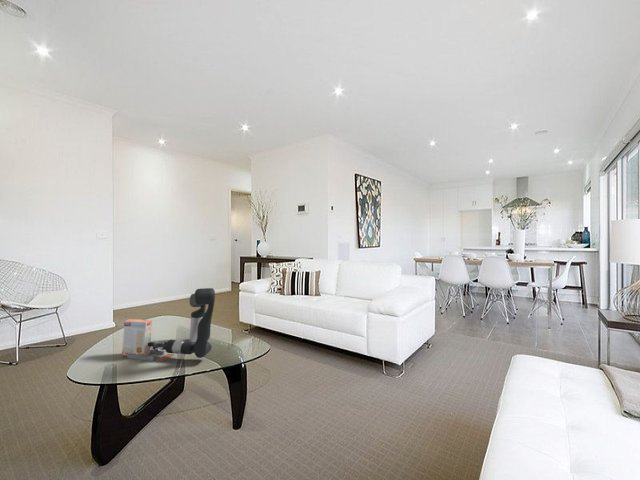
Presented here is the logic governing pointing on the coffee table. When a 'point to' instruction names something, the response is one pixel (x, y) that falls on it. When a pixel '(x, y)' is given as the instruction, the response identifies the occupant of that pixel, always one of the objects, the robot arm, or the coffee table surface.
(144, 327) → the cracker box
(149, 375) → the coffee table surface
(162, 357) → the pad
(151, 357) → the channel
